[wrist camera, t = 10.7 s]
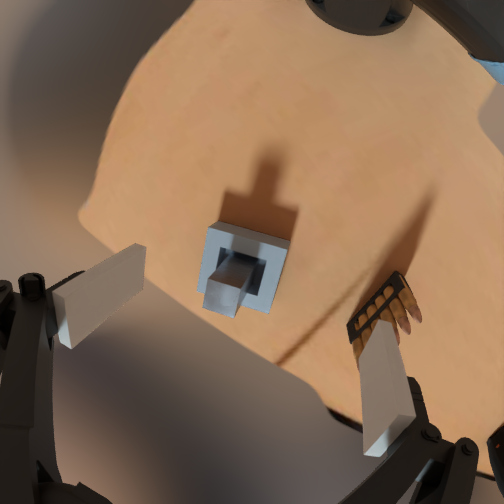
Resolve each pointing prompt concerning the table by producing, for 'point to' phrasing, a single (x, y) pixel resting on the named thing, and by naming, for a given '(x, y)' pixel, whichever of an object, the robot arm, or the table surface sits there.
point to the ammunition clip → (384, 313)
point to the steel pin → (230, 283)
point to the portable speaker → (497, 457)
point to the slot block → (251, 243)
